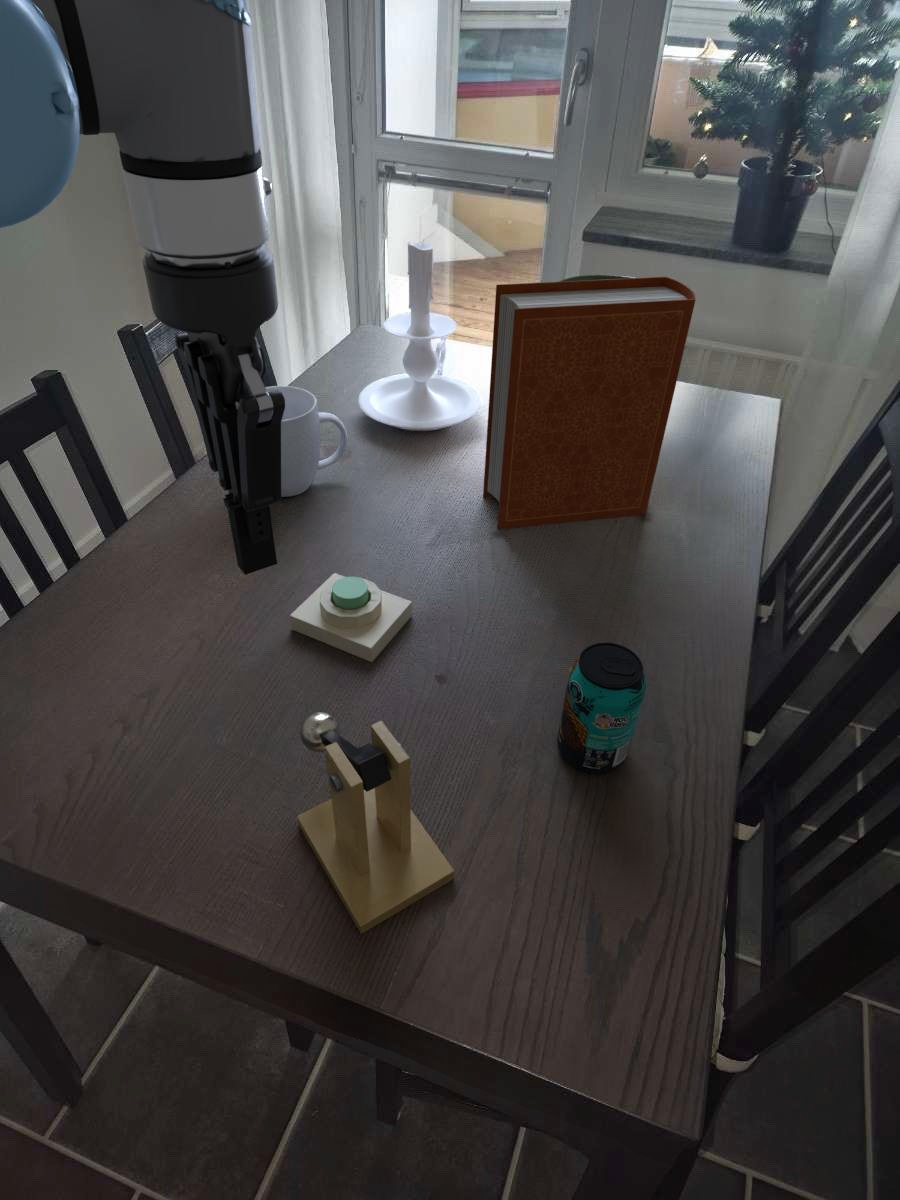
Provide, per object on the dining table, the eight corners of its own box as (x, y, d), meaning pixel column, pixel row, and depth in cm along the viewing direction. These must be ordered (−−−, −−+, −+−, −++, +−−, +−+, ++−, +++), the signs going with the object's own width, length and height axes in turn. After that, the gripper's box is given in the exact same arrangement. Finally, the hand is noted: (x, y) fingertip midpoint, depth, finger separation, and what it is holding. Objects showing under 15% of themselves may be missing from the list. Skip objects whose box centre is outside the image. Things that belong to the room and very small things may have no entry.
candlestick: (498, 389, 137) (510, 221, 119) (463, 455, 119) (471, 269, 101) (390, 373, 141) (386, 209, 123) (340, 435, 123) (326, 252, 105)
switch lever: (301, 752, 70) (289, 717, 69) (336, 736, 71) (325, 701, 70) (360, 803, 57) (347, 761, 56) (402, 782, 59) (389, 741, 58)
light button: (326, 603, 86) (325, 591, 85) (346, 583, 89) (345, 572, 88) (356, 615, 85) (355, 603, 83) (375, 594, 87) (374, 583, 86)
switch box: (291, 629, 88) (287, 603, 85) (335, 586, 94) (333, 560, 91) (372, 662, 84) (370, 636, 81) (412, 615, 90) (412, 589, 88)
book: (497, 529, 104) (515, 309, 84) (483, 497, 110) (496, 284, 90) (652, 513, 108) (703, 299, 88) (630, 482, 114) (673, 276, 94)
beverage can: (559, 716, 79) (574, 632, 71) (627, 727, 78) (650, 643, 70) (553, 771, 74) (569, 686, 66) (626, 783, 73) (651, 698, 65)
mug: (340, 457, 118) (334, 377, 109) (359, 494, 110) (354, 411, 101) (243, 472, 113) (228, 390, 105) (255, 512, 106) (240, 427, 97)
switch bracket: (298, 824, 68) (279, 724, 59) (385, 779, 72) (380, 680, 63) (361, 934, 61) (350, 840, 52) (454, 878, 65) (460, 781, 56)
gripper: (314, 269, 42) (338, 593, 58) (226, 214, 50) (267, 511, 66) (182, 290, 39) (245, 628, 54) (110, 227, 47) (182, 537, 62)
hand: (257, 564), depth 60 cm, fingers closed
